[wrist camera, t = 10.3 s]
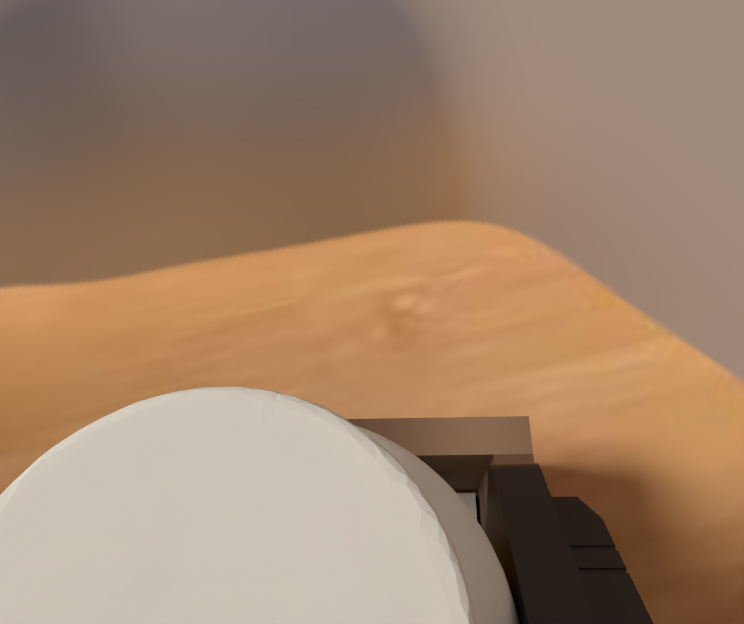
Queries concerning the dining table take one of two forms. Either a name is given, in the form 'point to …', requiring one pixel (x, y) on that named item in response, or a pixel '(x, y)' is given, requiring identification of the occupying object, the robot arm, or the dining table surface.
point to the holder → (460, 448)
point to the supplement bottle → (240, 523)
